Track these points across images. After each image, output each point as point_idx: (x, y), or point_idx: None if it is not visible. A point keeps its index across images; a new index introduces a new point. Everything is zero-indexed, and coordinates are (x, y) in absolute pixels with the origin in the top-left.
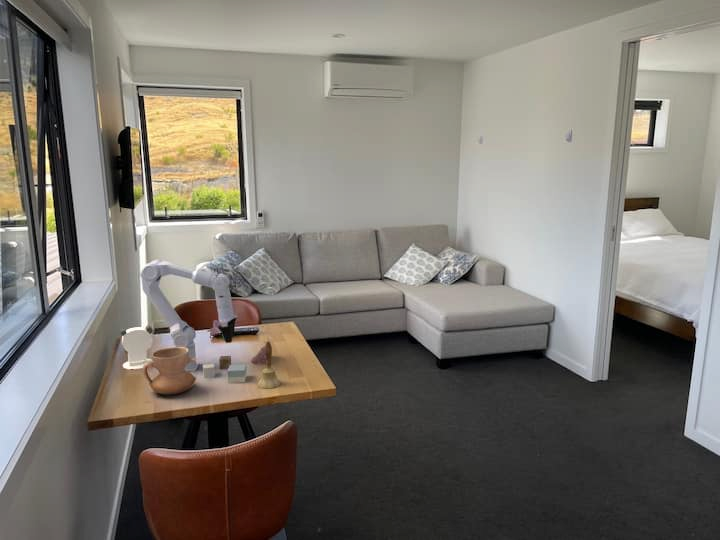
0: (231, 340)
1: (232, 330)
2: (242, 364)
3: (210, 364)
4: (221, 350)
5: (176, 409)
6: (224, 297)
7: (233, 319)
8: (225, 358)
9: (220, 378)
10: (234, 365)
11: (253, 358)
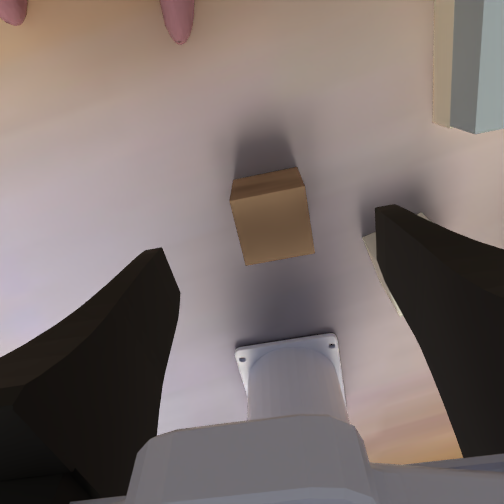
0: (404, 210)
1: (142, 298)
2: (484, 17)
3: None
4: (16, 310)
5: None
6: None
7: (52, 420)
8: (286, 221)
9: (453, 174)
10: (494, 89)
11: (183, 14)
